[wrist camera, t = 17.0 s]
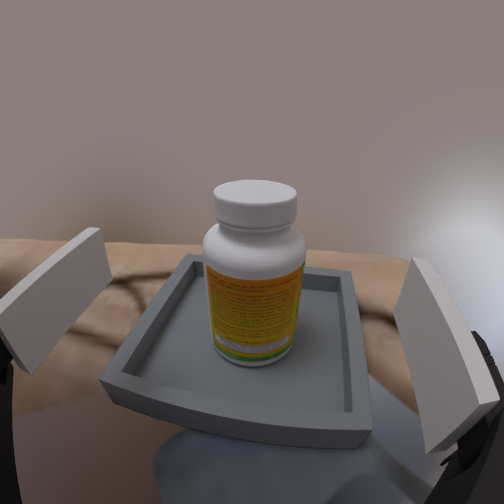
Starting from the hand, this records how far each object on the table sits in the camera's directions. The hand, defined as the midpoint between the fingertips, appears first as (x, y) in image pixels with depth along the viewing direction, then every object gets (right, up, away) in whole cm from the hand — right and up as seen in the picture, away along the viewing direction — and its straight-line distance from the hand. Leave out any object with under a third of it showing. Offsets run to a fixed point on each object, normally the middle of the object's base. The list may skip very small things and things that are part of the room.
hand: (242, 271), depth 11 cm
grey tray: (0, -6, +8) cm, 9 cm away
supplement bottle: (0, -5, +7) cm, 9 cm away
